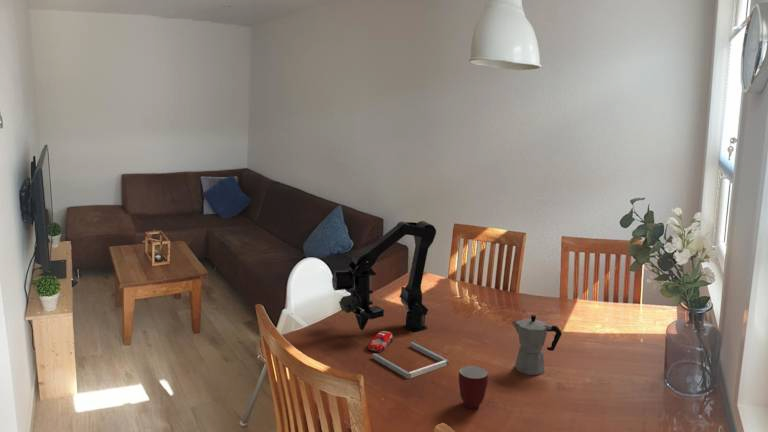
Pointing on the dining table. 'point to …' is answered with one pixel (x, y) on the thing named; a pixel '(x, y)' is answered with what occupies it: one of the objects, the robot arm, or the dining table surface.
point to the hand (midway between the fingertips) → (361, 329)
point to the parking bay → (417, 372)
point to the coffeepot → (533, 344)
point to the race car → (380, 341)
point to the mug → (473, 385)
